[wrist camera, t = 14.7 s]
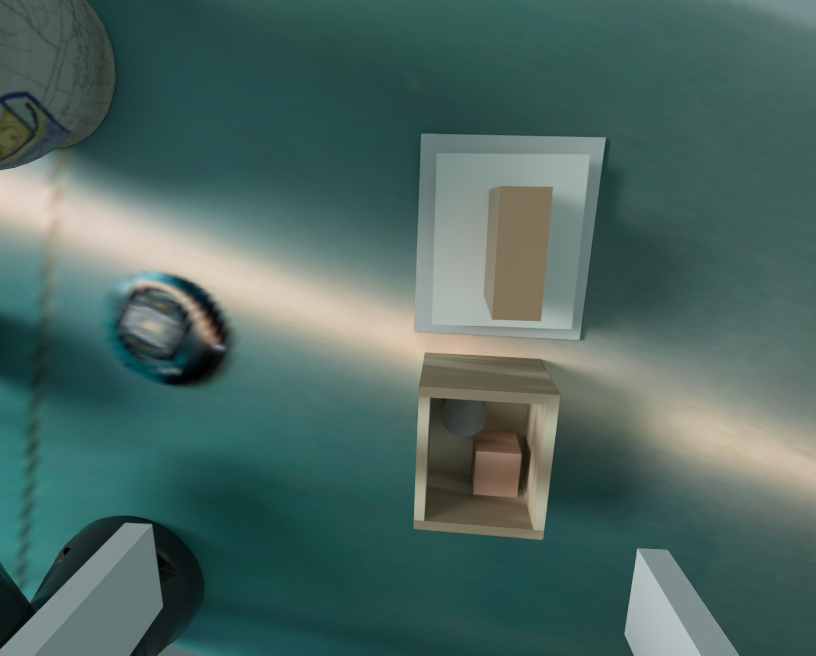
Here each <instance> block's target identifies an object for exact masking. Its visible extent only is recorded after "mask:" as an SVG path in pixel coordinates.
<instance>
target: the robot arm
mask: <svg viewBox="0 0 816 656" xmlns="http://www.w3.org/2000/svg"><path fill="white" fill-rule="evenodd" d="M202 598H203V579H202V575H201V572H200V569H199V566H198V564H197V562H196V560H195V559H194V557H193V555H192V554H191V552H190V551H189V550H188V549H187V547H186V546H185V545H184V544H183V543H182V542H181V541H180V540H179V539H178V538H176V537H175V536H174V535H173V534H171V533H170V532H168V531H167V530H165V529H164V528H162V527H160V526H158V525H156V524H154V523H151V522H149V521H146V520H143V519H139V518H134V517H125V516H115V517H107V518H103V519H100V520H97V521H95V522H93V523H91V524H89V525H87V526H86V527H85V528H83V529H82V530H81V531H80V532H79V533H78V534H77V535H75V536H74V537H73V538H72V539H71V540H70V541H69V542H68V543H67V544H66V545H65V546H64V547H63V548H62V550H61V551H60V553H59V554H58V556H57V558H56V559H55V561H54V564H53V565H52V566H51V568H50V570H49V571H48V573H47V575H46V576H45V578H44V580H43V581H42V583H41V585H40V587H39V588H38V590H37V592H36V593H35V595H34V597H33V599H32V600H31V602H30V603H29V601H28V600H27V599H26V597H25V596H24V595H23V593H22V592H21V591H20V589H19V588H18V587H17V585H16V584H15V583H14V581H13V580H12V578H11V577H10V576H9V574H8V573H7V571H6V570H5V569H4V567H3V566H2V564H1V563H0V656H157V655H158V654H159V653H160V652H161V651H162V650H163V649H165V648H166V647H167V646H168V645H169V644H171V643H172V642H173V641H175V640H176V639H177V638H179V637H180V636H181V634H182V633H183V632H184V631H185V630H186V628H187V627H188V625H189V624H190V622H191V621H192V619H193V617H194V616H195V614H196V613H197V611H198V609H199V607H200V605H201V602H202ZM625 636H626V638H627V641H628V643H629V645H630V647H631V650H632V652H633V654H634V656H739V655H738V653H737V652H736V650H735V649H734V647H733V646H732V644H731V643H730V641H729V640H728V638H727V637H726V635H725V634H724V633H723V631H722V630H721V628H720V627H719V625H718V624H717V622H716V621H715V619H714V618H713V616H712V615H711V613H710V612H709V610H708V609H707V607H706V606H705V604H704V603H703V602H702V600H701V599H700V597H699V596H698V594H697V593H696V591H695V590H694V588H693V587H692V585H691V584H690V582H689V581H688V579H687V578H686V576H685V575H684V573H683V572H682V571H681V569H680V568H679V566H678V565H677V563H676V562H675V560H674V559H673V557H672V556H671V554H670V553H669V551H668V550H658V549H637V556H636V562H635V569H634V575H633V582H632V588H631V595H630V601H629V608H628V615H627V621H626V628H625Z"/></svg>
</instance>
